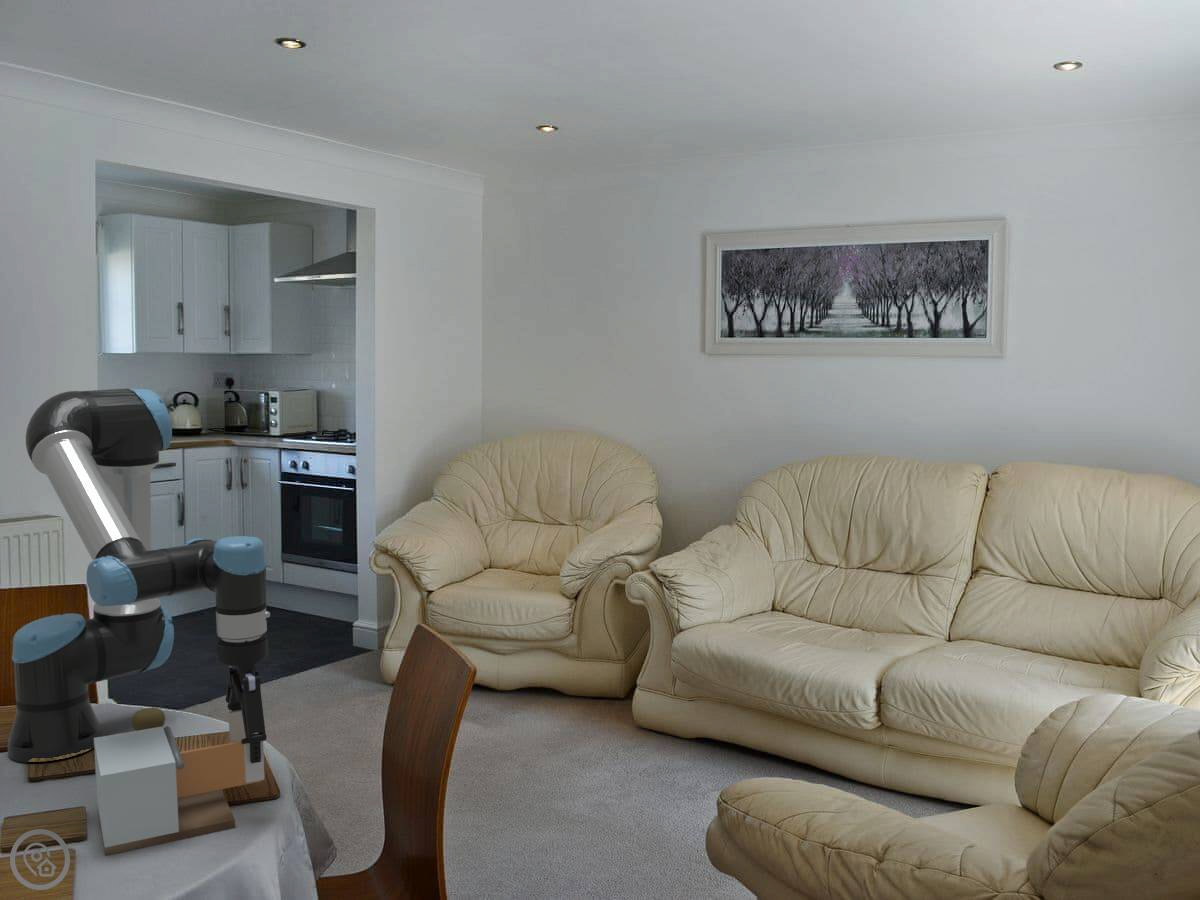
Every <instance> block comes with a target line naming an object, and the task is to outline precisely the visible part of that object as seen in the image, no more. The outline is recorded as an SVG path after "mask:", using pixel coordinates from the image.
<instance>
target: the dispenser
mask: <svg viewBox="0 0 1200 900" xmlns="http://www.w3.org/2000/svg"><path fill="white" fill-rule="evenodd" d="M93 750H94V766H95V767H94V768H95V783H96V784H95V785H96V800H97V801H96V802H97V803H96V804H98V805H97V811H98V810H99V815H98V817H99V816H100V821H99V823H100V822H101V827H100V829H101V828H102V833H101V835H102V834H103V840H104V846H105V847H110V846H115V845H120V844H124V843H129V842H134V841H138V840H143V839H148V838H152V837H157V836H162V835H166V834H171V833H176V832H179V825H178V804H177V782H176V769H178V770H181V769H183V768H184V762H183V760H182V757H181V754H180V752H181V751H180V750H179V747H178V745H177V742H176V739H175V736H174V733H173V731H172V728H171V727H170V726H168V725H167V726H165V727H164V725H163V726H162V727H156V728H150V729H144V730H138V731H136V730H134V731H128V732H120V733H115V734H110V735H103V736H102V737H97V738H94V749H93ZM103 840H102V841H103ZM104 846H103V847H104Z"/></svg>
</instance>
